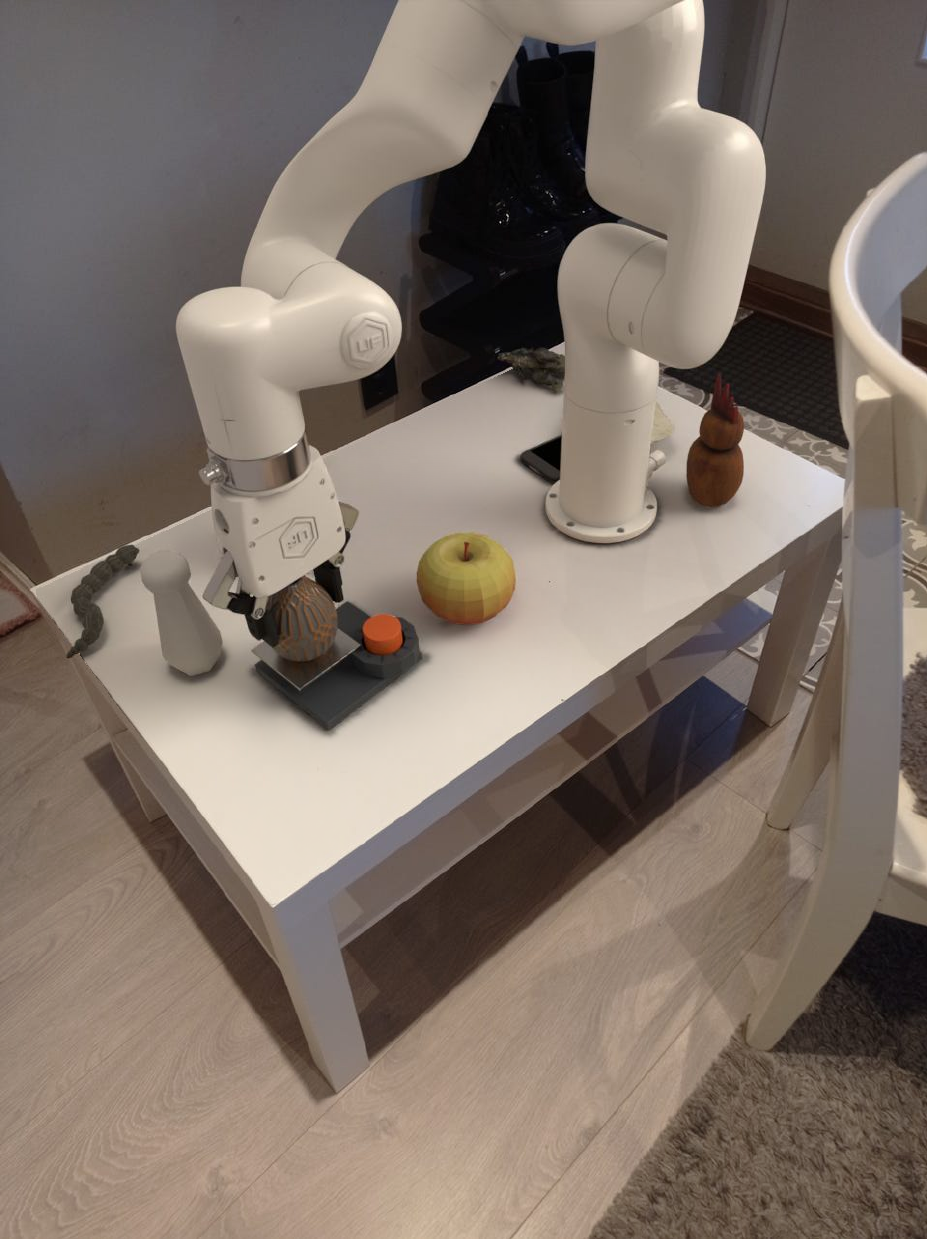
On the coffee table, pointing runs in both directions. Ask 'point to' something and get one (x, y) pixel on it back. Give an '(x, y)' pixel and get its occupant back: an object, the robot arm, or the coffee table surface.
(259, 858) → the coffee table surface
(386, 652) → the button
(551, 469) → the smartphone
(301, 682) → the plate
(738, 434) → the wooden figurine
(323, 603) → the vase
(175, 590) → the salt shaker
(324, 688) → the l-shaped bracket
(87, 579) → the toy
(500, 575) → the apple
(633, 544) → the coffee table surface
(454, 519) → the coffee table surface
